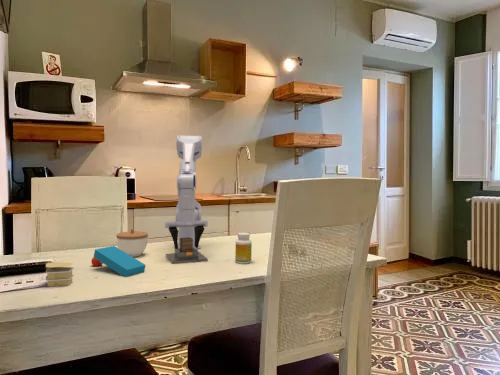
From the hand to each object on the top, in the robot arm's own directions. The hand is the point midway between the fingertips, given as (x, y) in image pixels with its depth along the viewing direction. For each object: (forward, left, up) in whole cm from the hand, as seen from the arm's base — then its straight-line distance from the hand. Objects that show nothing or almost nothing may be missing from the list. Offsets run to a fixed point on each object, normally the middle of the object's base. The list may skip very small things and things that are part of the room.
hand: (186, 247), depth 139 cm
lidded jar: (-11, -17, -4) cm, 21 cm away
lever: (+7, -24, -4) cm, 26 cm away
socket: (0, 0, -4) cm, 4 cm away
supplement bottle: (+11, +17, -4) cm, 21 cm away
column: (0, 0, -4) cm, 4 cm away
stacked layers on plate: (+18, -39, -4) cm, 43 cm away
